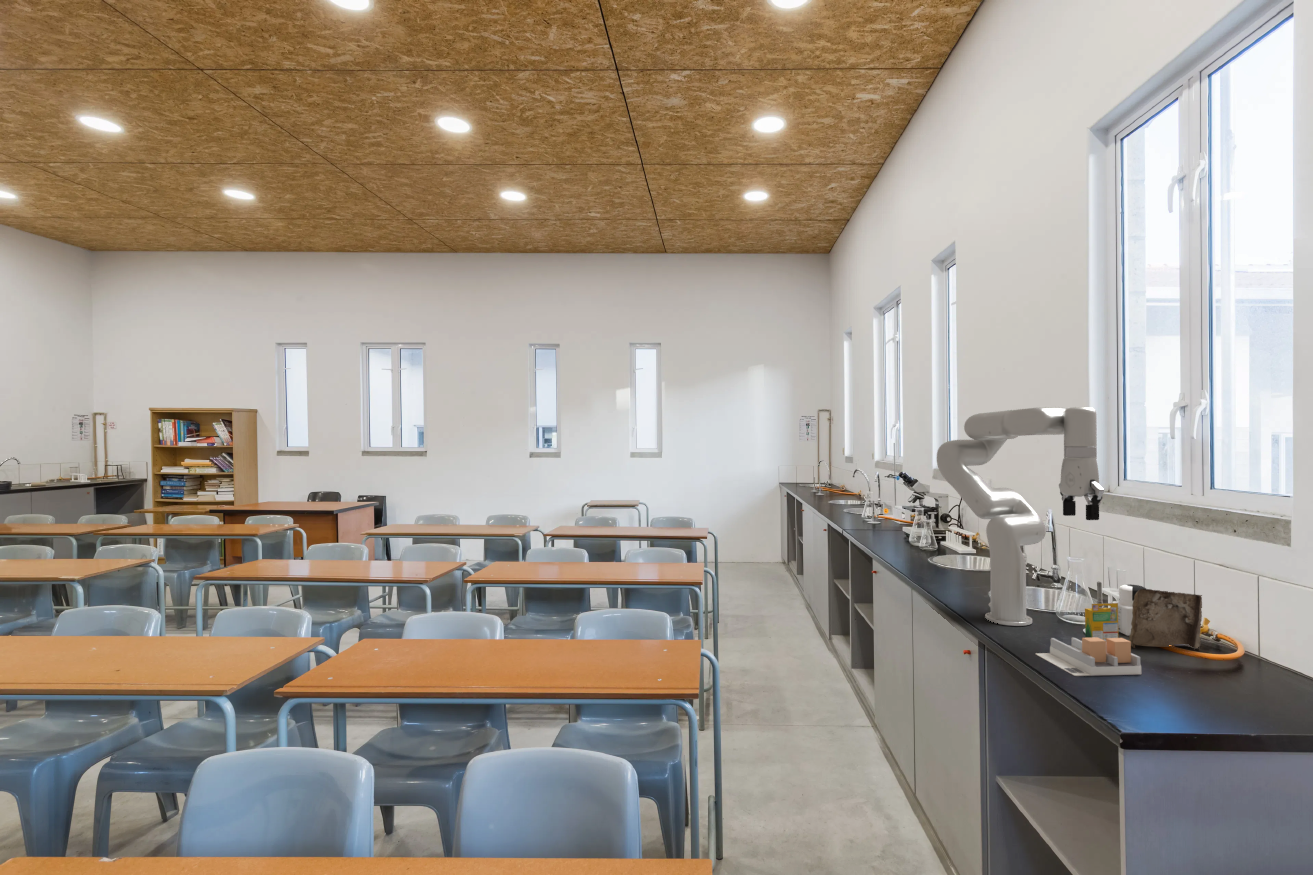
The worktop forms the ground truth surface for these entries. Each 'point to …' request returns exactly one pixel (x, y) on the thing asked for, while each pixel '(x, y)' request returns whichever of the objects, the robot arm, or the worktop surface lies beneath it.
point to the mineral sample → (1165, 618)
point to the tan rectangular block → (1094, 648)
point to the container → (1126, 607)
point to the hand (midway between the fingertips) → (1080, 517)
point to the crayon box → (1101, 621)
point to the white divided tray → (1087, 661)
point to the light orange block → (1119, 649)
